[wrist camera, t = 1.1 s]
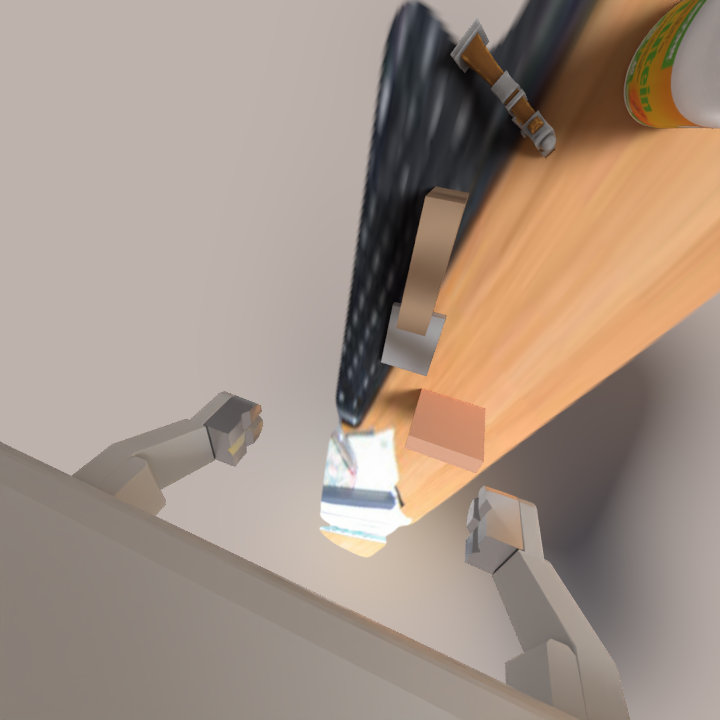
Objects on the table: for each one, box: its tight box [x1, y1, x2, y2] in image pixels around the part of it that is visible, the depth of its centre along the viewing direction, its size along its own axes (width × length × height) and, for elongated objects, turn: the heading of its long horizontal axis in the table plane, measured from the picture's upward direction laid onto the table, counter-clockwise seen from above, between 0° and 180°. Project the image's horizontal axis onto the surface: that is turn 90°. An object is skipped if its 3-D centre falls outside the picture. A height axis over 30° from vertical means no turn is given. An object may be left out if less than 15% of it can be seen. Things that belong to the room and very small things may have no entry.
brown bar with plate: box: [381, 187, 469, 376], centre depth 26 cm, size 17×5×4 cm, turn 173°
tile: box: [405, 389, 485, 473], centre depth 32 cm, size 2×7×7 cm, turn 83°
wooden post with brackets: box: [450, 18, 556, 158], centre depth 18 cm, size 2×8×4 cm, turn 50°
